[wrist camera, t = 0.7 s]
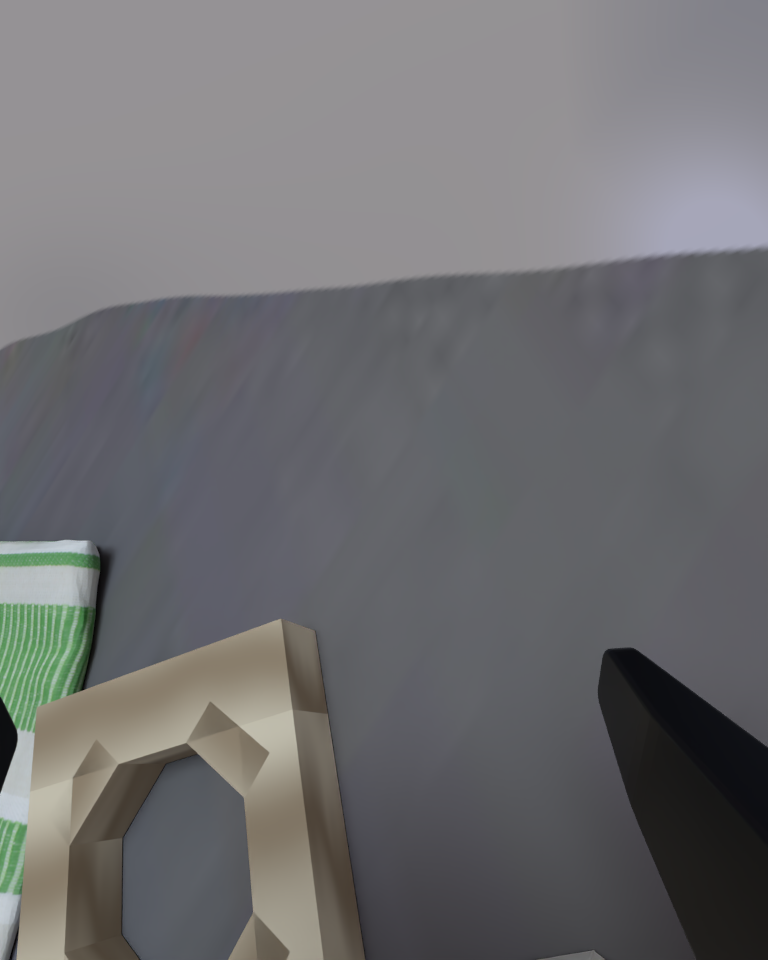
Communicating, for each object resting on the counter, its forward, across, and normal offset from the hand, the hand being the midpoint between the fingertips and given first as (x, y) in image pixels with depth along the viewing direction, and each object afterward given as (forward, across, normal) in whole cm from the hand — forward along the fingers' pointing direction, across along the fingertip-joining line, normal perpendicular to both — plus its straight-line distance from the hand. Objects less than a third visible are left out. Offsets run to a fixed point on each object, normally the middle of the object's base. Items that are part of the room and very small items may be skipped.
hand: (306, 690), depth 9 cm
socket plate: (+7, +6, +15) cm, 18 cm away
